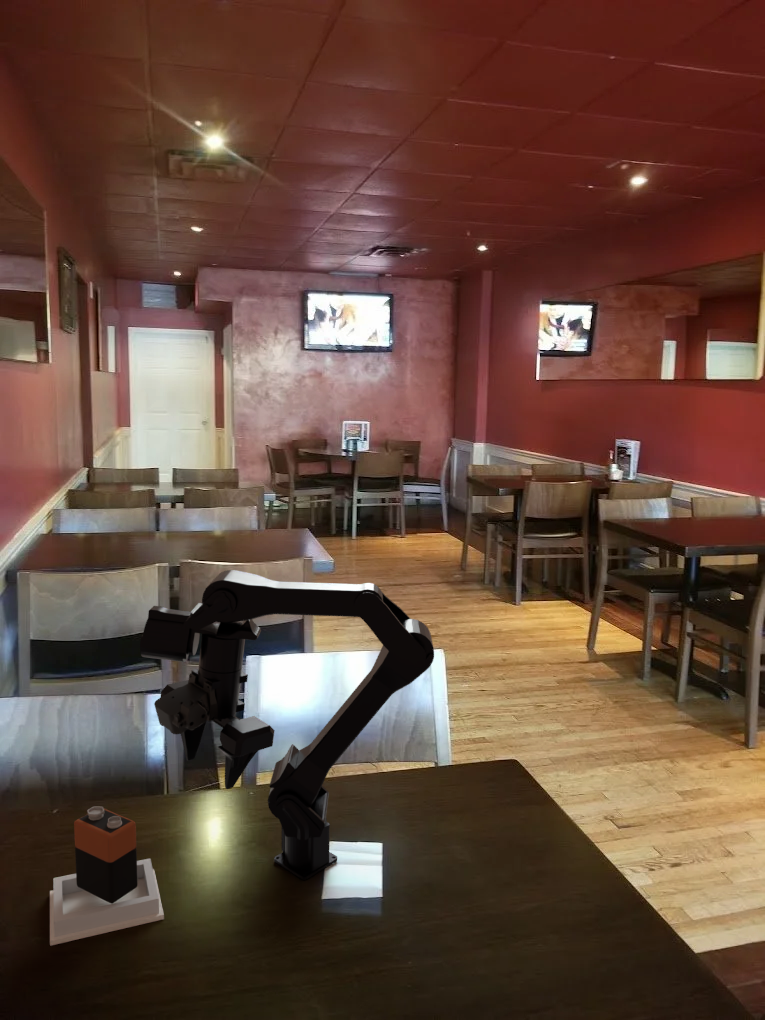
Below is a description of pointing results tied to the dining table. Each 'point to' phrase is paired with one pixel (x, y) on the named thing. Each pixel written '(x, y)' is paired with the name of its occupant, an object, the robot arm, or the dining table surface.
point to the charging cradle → (102, 907)
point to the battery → (105, 854)
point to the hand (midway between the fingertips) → (209, 773)
